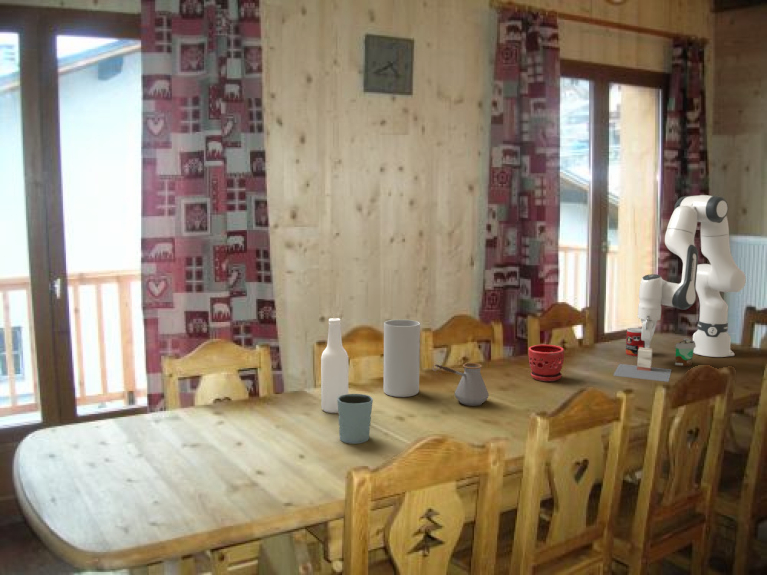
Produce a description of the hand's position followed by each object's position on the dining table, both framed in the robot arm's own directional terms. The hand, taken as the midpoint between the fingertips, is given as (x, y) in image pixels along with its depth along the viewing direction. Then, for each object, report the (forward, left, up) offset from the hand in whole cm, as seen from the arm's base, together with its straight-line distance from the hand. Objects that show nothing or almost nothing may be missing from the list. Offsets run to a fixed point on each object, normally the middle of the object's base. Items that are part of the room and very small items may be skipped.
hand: (647, 347), depth 296 cm
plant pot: (+40, -33, -7) cm, 52 cm away
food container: (-6, +15, -7) cm, 18 cm away
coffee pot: (+85, -52, -7) cm, 100 cm away
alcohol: (+108, -87, -7) cm, 139 cm away
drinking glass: (+129, -69, -7) cm, 146 cm away
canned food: (-17, -6, -7) cm, 19 cm away
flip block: (+9, 0, -7) cm, 11 cm away
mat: (+15, 0, -7) cm, 17 cm away
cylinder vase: (+81, -75, -7) cm, 111 cm away
